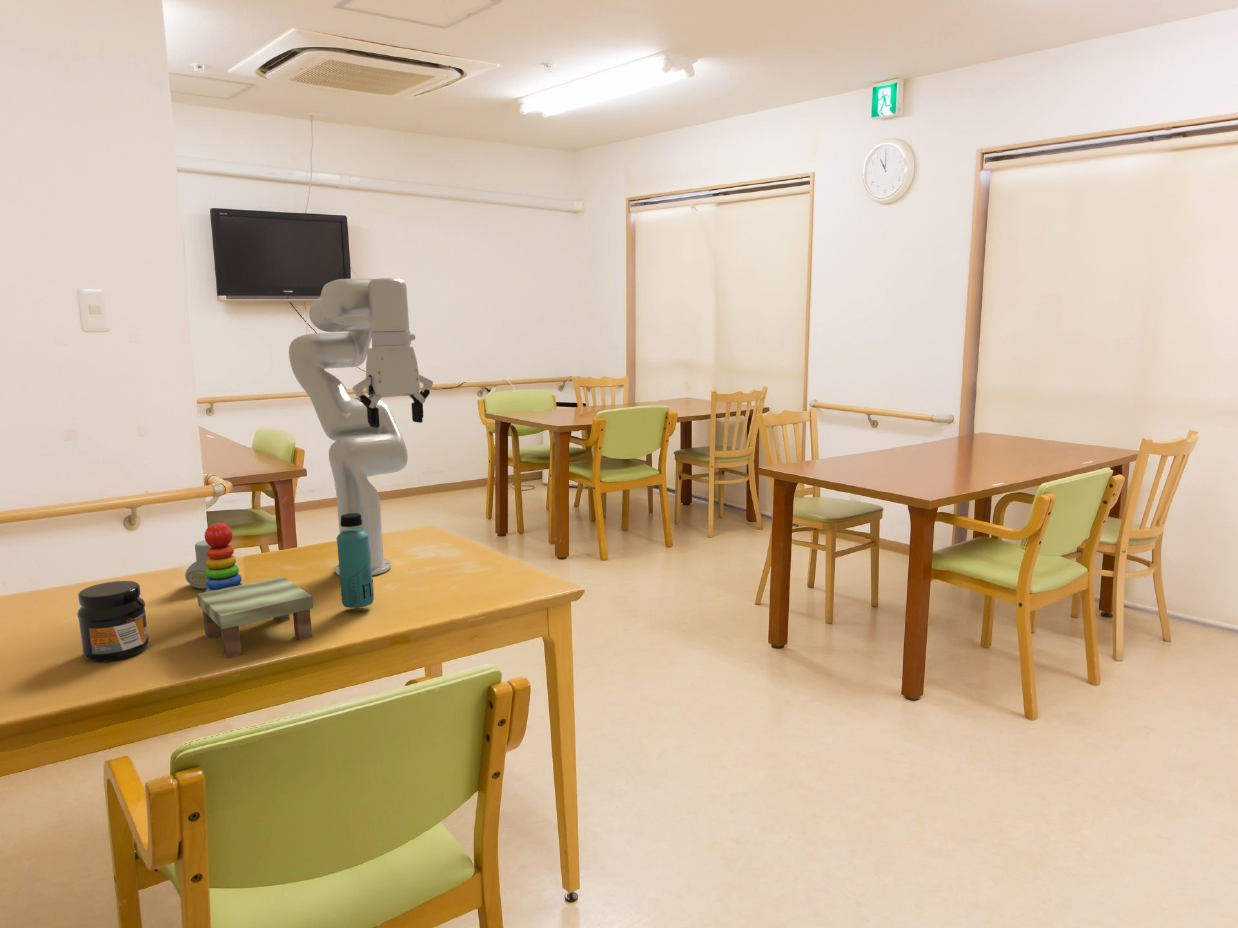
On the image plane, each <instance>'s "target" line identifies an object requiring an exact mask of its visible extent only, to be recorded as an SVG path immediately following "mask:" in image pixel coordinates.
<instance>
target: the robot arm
mask: <svg viewBox="0 0 1238 928" xmlns="http://www.w3.org/2000/svg"><path fill="white" fill-rule="evenodd" d="M408 306H409V305H408V290H407V284H406V282H405V280H403V279H401V278H398V277H397V278H396V277H395V278H394V277H393V278H390V277H389V278H388V277H386V278H385V277H383V278H380V277H379V278H341V279H340V278H339V279H335V280H332V281H330V282H327V283H326V284H324V286H322V290H321V293H320V296H319V297H318V298H316V299H315V300H314V301H313V302H312V303H311V304H310V307H309V312H308V315H309V320H310V322H311V324H313V326H314V327H315V328H317V329H318V330H321V331H323V332H322V333H318V332H317V333H308V334H303V335H300V336H297V337H295V338H294V339H293V340H292V341H291V342H290V344H289V347H288V360H289V362H290V363H289V364H290V367H291V370H292V373H293V375H294V376H295V378H296V381H297V382H298V384H299V385H300V386H301V388H302V389H303V390H304V392H305V393H306V394H307V396H308V397H309V400H310V401H311V403H312V405H313V408H314V410H315V413H316V414H317V415H316V416H317V418H318V420H319V422H320V425H321V427H322V430H323V432H324V433H325V435H326V437H328V438H329V439H330V440H331V441H334V442H332V444H331V445H330V446H329V449H328V461H329V466H330V468H331V473H332V477H333V482H334V488H335V496H336V507H337V517H338V518H337V519H338V520H337V521H338V531H339V533H338V534H340V533H341V532H342V531H344V530H347V529H362V530H364V531H365V532H367V533H368V535H369V548H370V557H371V558H370V559H371V571H372V576H376V575H380V574H383V573H386V572H388V571H389V570H390V569H391V568H392V561H390V560H389V559H387V558H385V554H384V542H383V541H384V540H383V527H382V524H383V523H382V513H381V511H382V510H381V500H380V495H379V492H378V490H377V489H376V487H375V486H374V485H373V484H372V483H371V482H370V481H369V479H368V478H369V477H374V476H378V475H387V474H391V473H397V472H399V471H401V470H403V469H404V468H405V467H406V466H407V463H408V457H409V456H408V449H407V446H406V443H405V440H404V438H403V436H402V434H401V431H400V429H399V427H398V425H397V422H396V421H395V418H394V416H393V414H392V412H391V410H390V408H389V406H388V405H387V404H386V403H385V402H384V401H383V400H381V399H382V398H384V399H385V398H394V397H395V398H397V397H398V398H399V397H406V396H407V397H408V396H409V397H410V399H411V400H412V401H413V402H411V417H412V418H411V419H412V422H414V423H418V424H419V423H420V424H421V423H424V422H423V418H424V403H425V402H426V399H427V398H428V397H429V395H430V394H431V390H432V388H433V387H432V386H433V384H434V381H433V380H431V379H429V378H427V377H425V376H423V375H421V374H419V373H420V372H419V366H418V360H417V356H416V353H415V349H414V346H411V344H412V342H413V341H415V340H416V334H414V333H411V331H410V321H409V307H408ZM370 344H371V348H370ZM364 362H365V379H363V380H361V381H360V382H358V383H356V384H355V385H353V386H352V390H353V392H354V394H355V396H356V398H352V397H351V396H350V394H349V392H348V389H347V387H346V386H345V384H344V383H343V382H342V381H341V380H340V379H339V378H338V377H336V376H335V375H334V374H332V373H330V372H328V371H327V370H326V369H345V368H356V367H359V366H362V364H364ZM421 384H423V385H422V389H421V390H420V385H421ZM364 389H365V391H366V394H367V395H368V396H367V395H366V394H365V392H364ZM348 513H359V514H361V519H362V524H361V525H359V526H354V527H342V526H341V516H342V515H344V514H348ZM334 570H335V574H337V575H338V576H340V573H339V563H338V564H337V565H336V566H335V567H334Z"/></svg>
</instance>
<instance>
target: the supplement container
mask: <svg viewBox="0 0 1238 928" xmlns="http://www.w3.org/2000/svg"><path fill="white" fill-rule="evenodd" d="M140 587H141V586H140V584H139V583H138V582H136V581H131V580H117V581H116V580H115V581H107V582H102V583H97V584H94V585H92V586H91V585H90V586H88V587H85V588H83V589H81V590H80V591H79V592H78V594H77V596H78V597H77V598H78V604H79V605H80V607H79V608H78V610H77V612H76V614H77V616H76V617H77V618H78V622H79V630H80V639H81V643H82V644H81V645H82V646H81V647H82V654H83V656H84V658H86V659H87V660H89V661H92V662H97V661H98V662H100V661H101V662H103V661H107V662H114V661H120V659H121V660H124V658H125V659H128V658H131V657H134V656H137V655H138V654H140V653H142V652H143V651H144V650H146V649H147V648H148V646H149V645H150V636H149V632H148V625H147V623H148V622H147V616H146V609H145V608H146V602H145V600H144V599H143V598H142V597H141V588H140ZM101 662H100V663H101Z"/></svg>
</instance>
